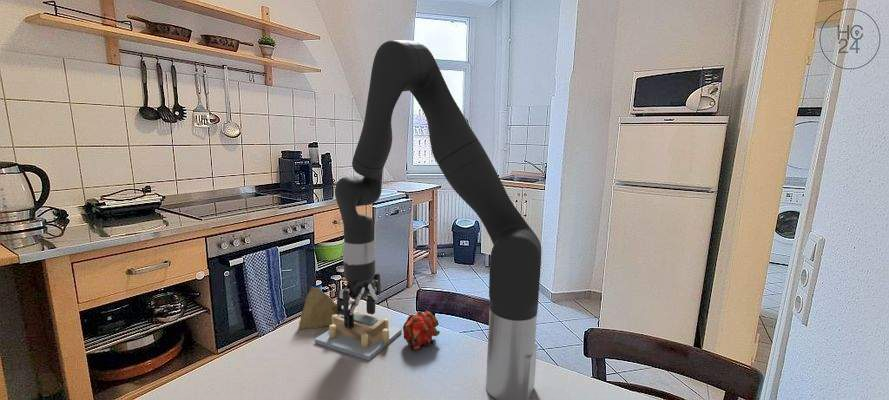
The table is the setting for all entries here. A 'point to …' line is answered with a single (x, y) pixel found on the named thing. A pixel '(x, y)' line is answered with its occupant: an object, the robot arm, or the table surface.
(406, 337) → the dragon fruit
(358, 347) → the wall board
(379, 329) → the frame
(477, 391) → the table surface
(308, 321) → the rock
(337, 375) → the table surface
